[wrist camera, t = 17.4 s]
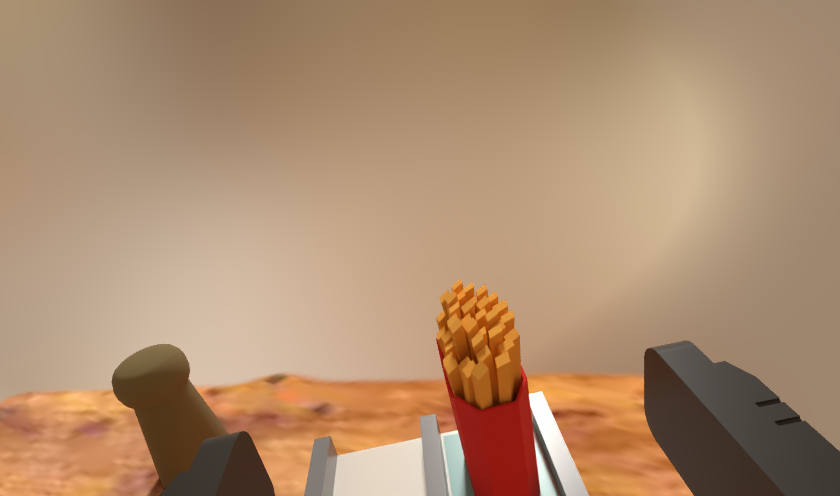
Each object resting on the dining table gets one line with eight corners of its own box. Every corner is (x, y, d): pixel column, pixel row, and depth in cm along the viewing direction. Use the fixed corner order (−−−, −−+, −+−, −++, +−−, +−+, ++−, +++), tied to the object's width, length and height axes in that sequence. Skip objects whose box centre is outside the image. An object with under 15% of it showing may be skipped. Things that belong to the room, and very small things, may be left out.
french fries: (455, 432, 35) (420, 281, 30) (511, 418, 35) (485, 265, 30) (488, 551, 27) (447, 369, 22) (560, 531, 27) (536, 346, 22)
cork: (230, 423, 43) (182, 323, 39) (240, 466, 38) (186, 357, 34) (160, 457, 41) (101, 356, 37) (161, 508, 36) (92, 397, 32)
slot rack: (305, 610, 27) (289, 578, 26) (326, 468, 36) (314, 439, 35) (600, 550, 27) (597, 514, 26) (545, 421, 36) (541, 391, 35)
